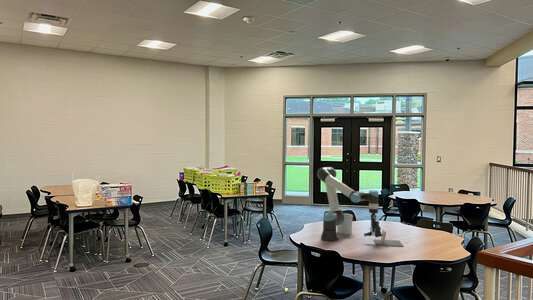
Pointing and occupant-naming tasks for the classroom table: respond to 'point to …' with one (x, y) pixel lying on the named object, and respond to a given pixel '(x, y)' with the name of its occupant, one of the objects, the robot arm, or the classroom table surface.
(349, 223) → the utensil holder
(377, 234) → the gun
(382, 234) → the tile
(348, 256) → the classroom table surface
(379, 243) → the mat
